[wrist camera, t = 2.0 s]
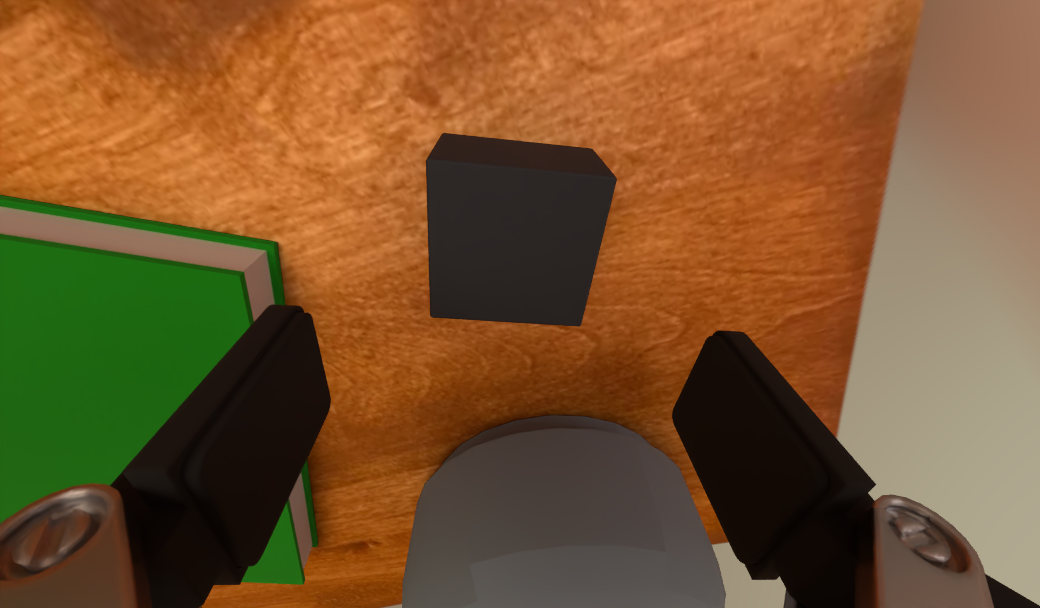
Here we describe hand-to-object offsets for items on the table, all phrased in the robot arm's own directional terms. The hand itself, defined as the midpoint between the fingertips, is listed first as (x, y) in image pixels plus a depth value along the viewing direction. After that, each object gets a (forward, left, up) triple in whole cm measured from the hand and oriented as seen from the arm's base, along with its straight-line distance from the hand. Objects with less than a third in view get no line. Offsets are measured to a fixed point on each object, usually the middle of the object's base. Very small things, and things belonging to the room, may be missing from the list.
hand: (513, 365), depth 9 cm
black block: (0, 0, -9) cm, 9 cm away
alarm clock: (-5, +22, -9) cm, 24 cm away
